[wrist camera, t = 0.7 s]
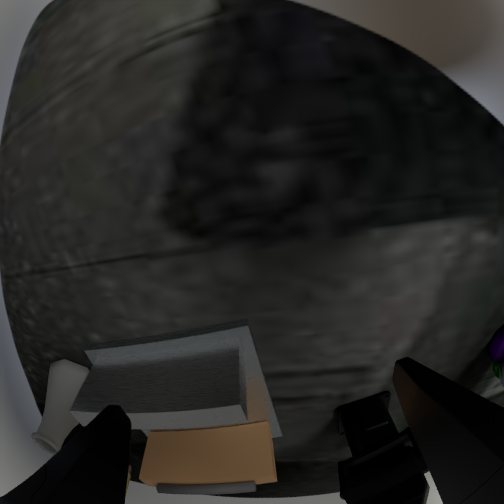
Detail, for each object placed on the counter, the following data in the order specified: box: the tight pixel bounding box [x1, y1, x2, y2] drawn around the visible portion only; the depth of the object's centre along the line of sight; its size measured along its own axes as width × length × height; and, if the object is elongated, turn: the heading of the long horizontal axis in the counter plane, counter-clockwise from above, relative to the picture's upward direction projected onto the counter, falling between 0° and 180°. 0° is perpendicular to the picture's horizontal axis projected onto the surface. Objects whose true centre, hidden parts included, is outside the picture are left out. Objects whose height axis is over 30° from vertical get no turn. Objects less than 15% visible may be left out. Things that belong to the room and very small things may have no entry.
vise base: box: [69, 319, 283, 438], centre depth 22 cm, size 17×16×8 cm
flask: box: [31, 359, 89, 455], centre depth 21 cm, size 7×7×10 cm
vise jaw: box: [139, 421, 277, 494], centre depth 23 cm, size 2×14×8 cm, turn 103°
